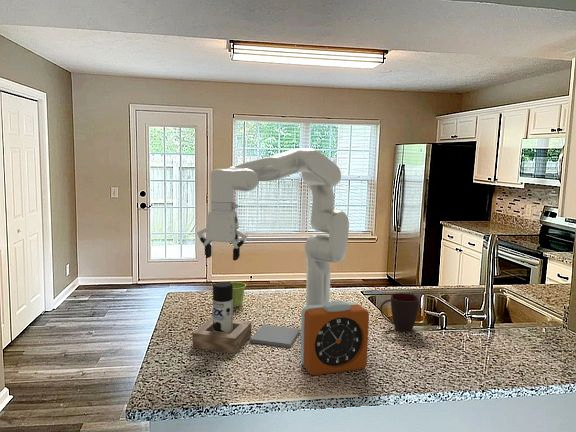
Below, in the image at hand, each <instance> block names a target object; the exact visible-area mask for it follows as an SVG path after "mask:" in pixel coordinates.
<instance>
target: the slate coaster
mask: <svg viewBox="0 0 576 432" xmlns="http://www.w3.org/2000/svg"><path fill="white" fill-rule="evenodd" d="M300 331H301V328H298V327H290V326H282V325H281V326H280V325H274V324H273V325H271V324H264V323H262V324H261V326H260V327H259V328H258V329H257V331H256V332H255V333H254V334H253V335H251V337H250V338H249V343H251V344H252V343H253V344H261V345H269V346H274V347H275V346H276V347H283V348H285V347H286V348H291V347H292V345H293V344H294V342H295V340H296V339H297V337H298V335H299V334H300V333H301V332H300Z"/></svg>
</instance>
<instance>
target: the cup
mask: <svg viewBox="0 0 576 432" xmlns="http://www.w3.org/2000/svg"><path fill="white" fill-rule="evenodd" d="M386 303H387V304H388V303H390V307H391V308H390V309H391V316H392V320H390V319H388V318H387V317H386V316H385V315H384V312H383V309H382V308H383V307H384V305H385V304H386ZM419 306H420V298H419V297H418V296H417V295H416V294H412V293H402V292H401V293H399V292H398V293H391V295H390V298H388V299H385V300H384V301H382V302H381V304H380V306H379V311H380V314H381V317H383V318H384V320H386V321H387V322H388V323H389V324H392V325H394V328H395V330H396V331H398V332H403V333H404V332H406V333H407V332H412V331H413V328H414V326H415V323H416V321H417V317H418V313H419Z"/></svg>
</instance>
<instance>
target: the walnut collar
mask: <svg viewBox="0 0 576 432" xmlns="http://www.w3.org/2000/svg"><path fill="white" fill-rule="evenodd" d="M191 337H192V338H191V339H192V340H191V341H192V348H194V349H199V350H200V349H202V350H209V351H214V352H215V351H216V352H221V351H222V353H230V354H236V353H237V352H238V351H240V349H241V348H242V347H243V345H244V344H245V343H247V342H248V340H250V338H251V337H252V321H248V320H247V321H246V320H240V319H233V332H232V333H231V334H227V333H220V332H213V316H212V317H211V318H209V319H208V320H207V321H206V322H204V323H203V324H201V325H200V326H199V327H197V328H196V329H195V330H194V331H193V332H192V336H191Z"/></svg>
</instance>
